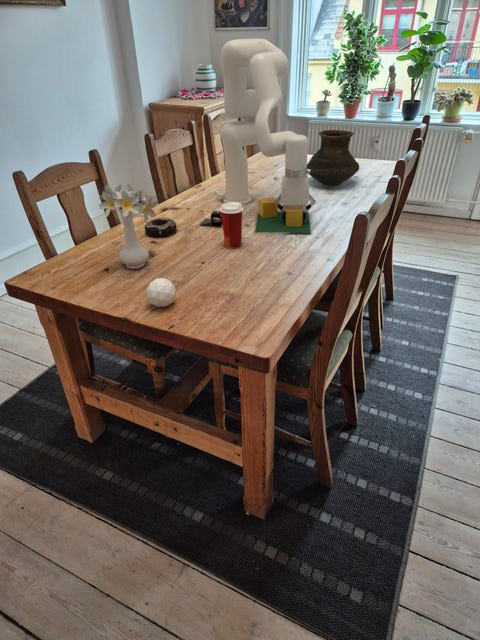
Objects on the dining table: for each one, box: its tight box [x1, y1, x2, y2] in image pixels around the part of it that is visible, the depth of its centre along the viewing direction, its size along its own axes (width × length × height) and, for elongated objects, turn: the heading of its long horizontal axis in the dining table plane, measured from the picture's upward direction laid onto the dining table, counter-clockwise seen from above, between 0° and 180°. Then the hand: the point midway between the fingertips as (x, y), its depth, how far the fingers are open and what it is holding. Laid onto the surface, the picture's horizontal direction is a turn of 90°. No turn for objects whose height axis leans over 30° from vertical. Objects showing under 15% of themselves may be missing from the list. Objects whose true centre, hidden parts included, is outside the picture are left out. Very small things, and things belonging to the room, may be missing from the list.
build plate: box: [199, 210, 223, 229], centre depth 169 cm, size 12×7×5 cm, turn 74°
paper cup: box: [219, 202, 244, 249], centre depth 149 cm, size 8×8×14 cm
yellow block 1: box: [257, 196, 279, 218], centre depth 173 cm, size 6×6×6 cm
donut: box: [144, 217, 177, 238], centre depth 163 cm, size 12×12×4 cm
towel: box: [254, 211, 312, 235], centre depth 168 cm, size 20×22×1 cm
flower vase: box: [98, 183, 159, 270], centre depth 135 cm, size 13×18×25 cm
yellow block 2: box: [286, 205, 303, 227], centre depth 164 cm, size 6×6×6 cm
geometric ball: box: [146, 277, 177, 308], centre depth 119 cm, size 8×8×8 cm
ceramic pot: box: [306, 129, 360, 187], centre depth 202 cm, size 24×24×22 cm
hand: (293, 221), depth 165 cm, fingers closed on yellow block 2, 6 cm apart
